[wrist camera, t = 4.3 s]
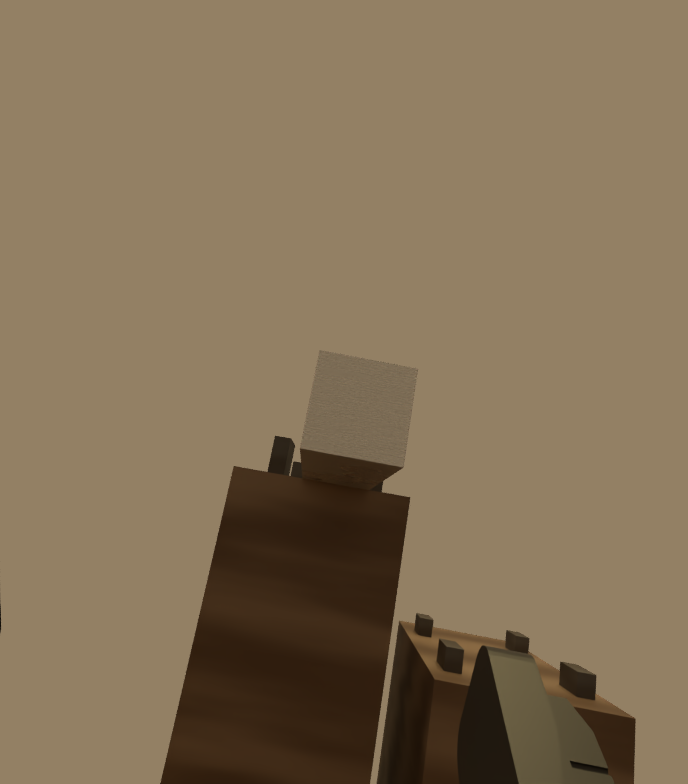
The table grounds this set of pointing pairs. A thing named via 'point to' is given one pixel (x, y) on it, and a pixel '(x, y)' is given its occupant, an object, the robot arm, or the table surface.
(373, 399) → the block
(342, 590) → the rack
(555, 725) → the robot arm
